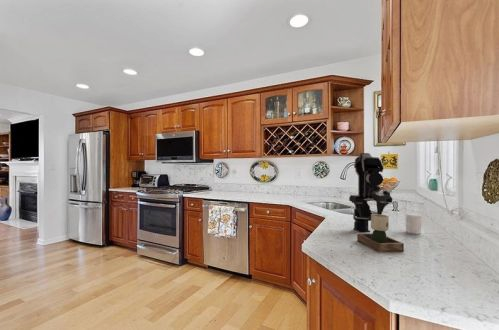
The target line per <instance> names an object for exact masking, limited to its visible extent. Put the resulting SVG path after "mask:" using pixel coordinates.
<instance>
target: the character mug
mask: <svg viewBox="0 0 499 330" xmlns="http://www.w3.org/2000/svg"><path fill="white" fill-rule="evenodd" d="M389 222H390V217H389V215H386V214H377V213H372V214H371V221H370V228H371V230H373V231H372V233H373V234H372V240H373V241H375V242H378V243H387V237H388V236H387V233H386V231H389V227H390V226H389ZM386 236H387V237H386Z"/></svg>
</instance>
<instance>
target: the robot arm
mask: <svg viewBox="0 0 499 330" xmlns="http://www.w3.org/2000/svg"><path fill="white" fill-rule="evenodd" d="M353 168H354V170H355V174H356V175H357V177H358V178H357V179H358V181H357V187H358V188H357V191H358V194H351V195H350V196H349V198H348V199H349V202H351V203H352V204H354V206H355V208H354V210H353V214H352V218H353V220H354V222H353V223H354V224H353V230H355V231H357V232H358V233H370V232H371V230H369V222H371V214H373V212H372V210H371V206H370V204H369V203H368V202H369V201H371V202H376V212H377V213H376V214H381V215H383V212H384V210H385V208H386V206H387V205H390V203H393V197H392V196H391V192H390V191H389V190H382V191H381V186H380V185H382V183H383V181H384V177H383V175H382V174H381V173H383V171H384V165H383V162H382V160H381V158H380V157H377V156H376V157H375V156H374V157H373V156H372V155H371V153H368V152H361V153H359V156H357V157H356V158H355V159H354V163H353ZM367 201H368V202H367Z"/></svg>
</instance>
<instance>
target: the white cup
mask: <svg viewBox="0 0 499 330" xmlns="http://www.w3.org/2000/svg"><path fill="white" fill-rule="evenodd" d="M404 215H405V218H404V219H405V232H406V233H408V234H412V235H420V234H421V232H422V227H423V226H422V225H423V223H422V222H423V214H419V213H413V212H406V213H405V214H404Z"/></svg>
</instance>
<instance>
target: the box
mask: <svg viewBox="0 0 499 330" xmlns="http://www.w3.org/2000/svg"><path fill="white" fill-rule="evenodd" d="M372 234H373V232H372V233H370V232H369V233H356V240H357V242H358V243H361V244H362V245H364V246H366V247H368V248H370V249H372V250H373V251H376V252H378V253H397V252H398V253H400V252H401V253H402V252H404V251H405V247H404V246H405V244H404V242H402V241H399V240H397V239H395V238H393V237H389V236H387V235H386V237H387V243H378V242H375V241H373V240H372Z"/></svg>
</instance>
